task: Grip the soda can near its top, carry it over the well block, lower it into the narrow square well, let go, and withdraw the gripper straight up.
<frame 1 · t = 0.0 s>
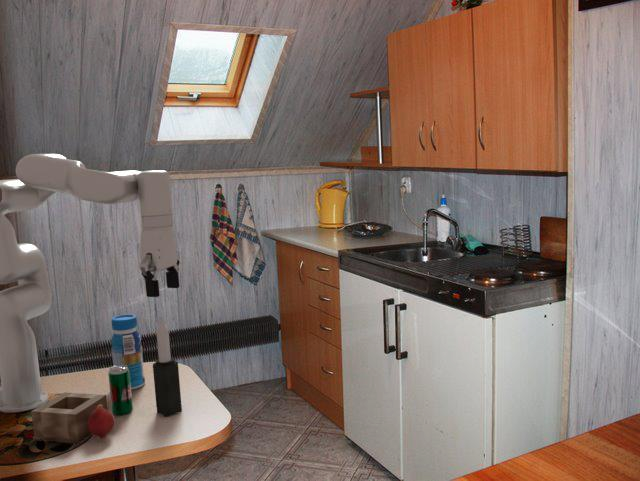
hand: (163, 292, 161), 31 cm above the table, fingers open, 9 cm apart
black handled stick: (169, 412, 167), on the table
well block: (72, 430, 159), on the table
onion: (102, 438, 154), on the table
beverage bottle: (130, 386, 188), on the table
soda can: (122, 413, 168), on the table
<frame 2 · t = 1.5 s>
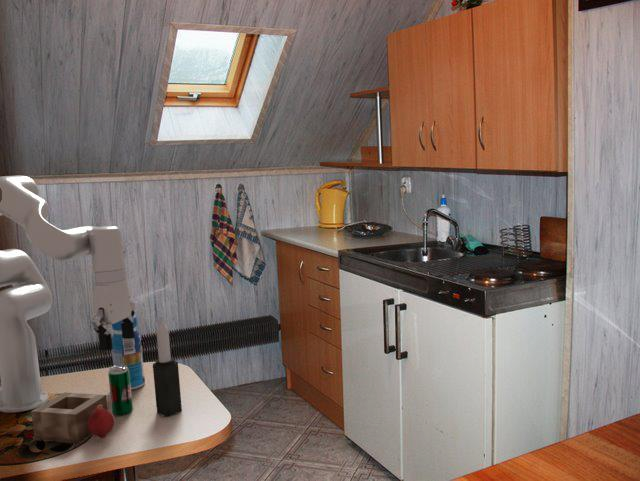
hand: (117, 343, 166), 18 cm above the table, fingers open, 9 cm apart
nothing on the table moved.
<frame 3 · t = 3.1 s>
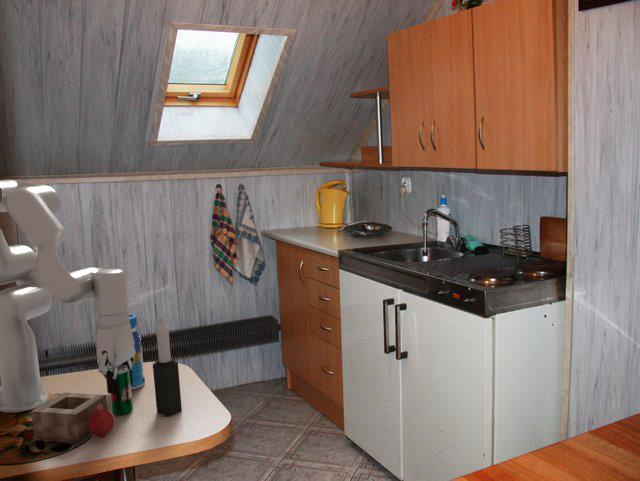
hand: (120, 388, 167), 6 cm above the table, fingers closed on soda can, 5 cm apart
soda can: (122, 413, 168), on the table, touching gripper
everything else where it was.
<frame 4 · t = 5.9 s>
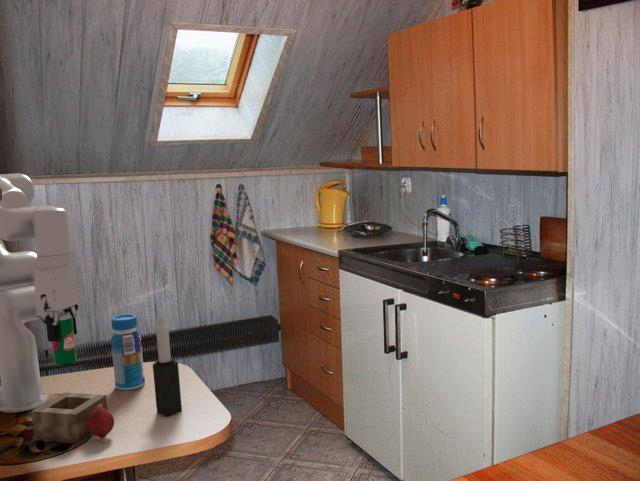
hand: (62, 336, 156), 23 cm above the table, fingers closed on soda can, 5 cm apart
soda can: (65, 364, 156), point 17 cm above the table, touching gripper
everything else where it was.
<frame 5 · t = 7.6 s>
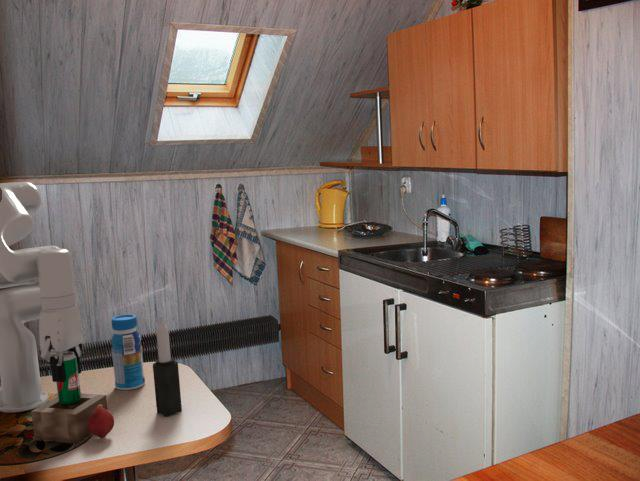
hand: (67, 376, 157), 14 cm above the table, fingers closed on soda can, 5 cm apart
soda can: (70, 403, 158), point 7 cm above the table, touching gripper
everything else where it was.
when the fingers open (9 cm above the table, at t = 8.9 s): soda can drops 1 cm, resting on well block.
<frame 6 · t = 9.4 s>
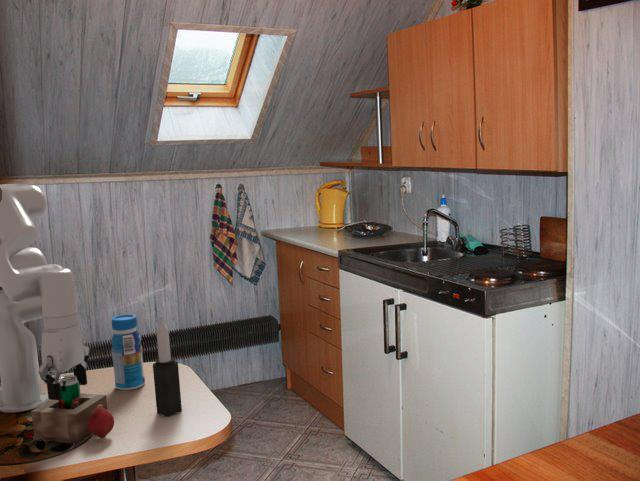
hand: (68, 391, 157), 10 cm above the table, fingers open, 9 cm apart
soda can: (72, 427, 159), point 1 cm above the table, touching well block
everything else where it was.
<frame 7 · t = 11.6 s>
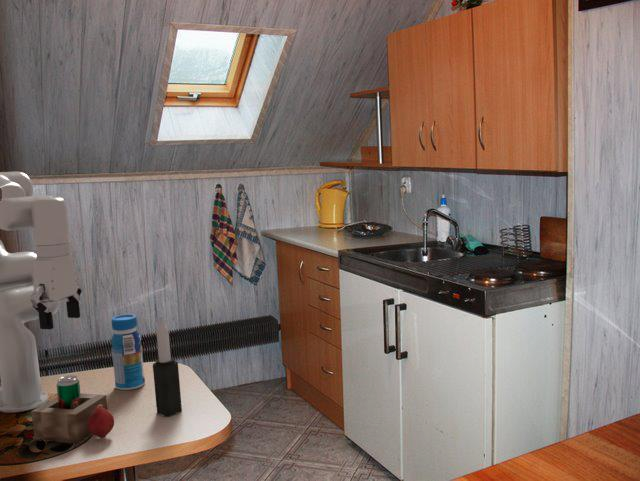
hand: (60, 323, 156), 26 cm above the table, fingers open, 9 cm apart
nothing on the table moved.
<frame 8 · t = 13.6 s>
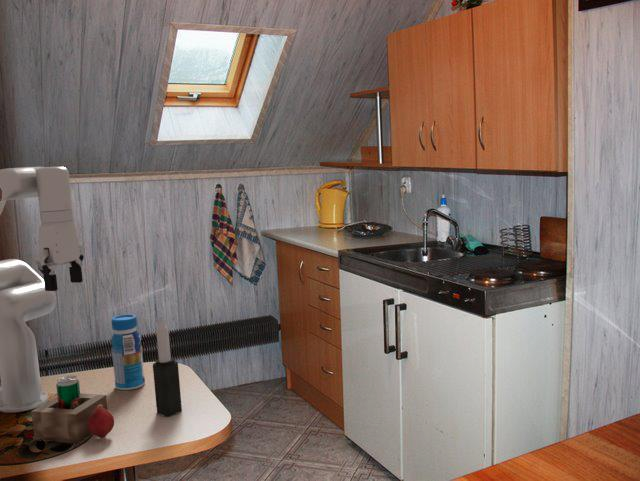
hand: (64, 286, 164), 33 cm above the table, fingers open, 9 cm apart
nothing on the table moved.
at the end: soda can 0.2 cm from the well block (horizontally); soda can touching well block; soda can tilted 0° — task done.
